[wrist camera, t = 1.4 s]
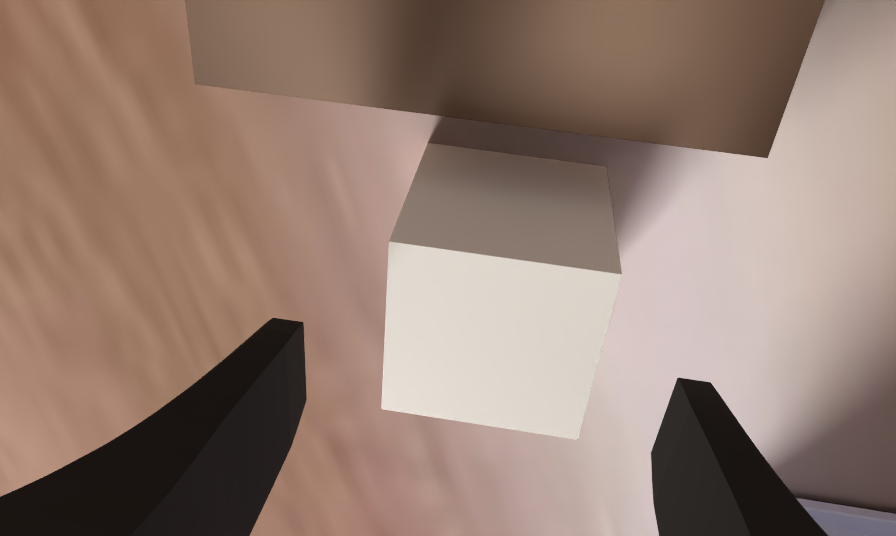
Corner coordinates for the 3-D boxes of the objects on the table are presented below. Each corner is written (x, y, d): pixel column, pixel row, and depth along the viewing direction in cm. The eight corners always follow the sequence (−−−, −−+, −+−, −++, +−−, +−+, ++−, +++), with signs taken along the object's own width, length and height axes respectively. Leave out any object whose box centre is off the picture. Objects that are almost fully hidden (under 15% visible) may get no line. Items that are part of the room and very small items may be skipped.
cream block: (605, 165, 18) (622, 274, 13) (573, 309, 20) (577, 439, 16) (428, 142, 18) (389, 241, 14) (417, 287, 20) (381, 408, 16)
